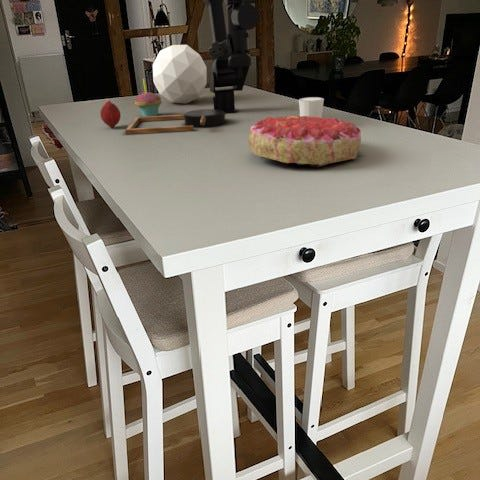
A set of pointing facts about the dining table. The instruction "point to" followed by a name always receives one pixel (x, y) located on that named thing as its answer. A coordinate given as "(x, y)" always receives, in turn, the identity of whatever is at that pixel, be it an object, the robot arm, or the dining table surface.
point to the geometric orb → (179, 74)
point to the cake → (305, 140)
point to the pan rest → (131, 127)
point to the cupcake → (148, 102)
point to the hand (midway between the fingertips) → (240, 90)
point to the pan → (204, 118)
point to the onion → (110, 114)
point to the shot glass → (311, 106)
